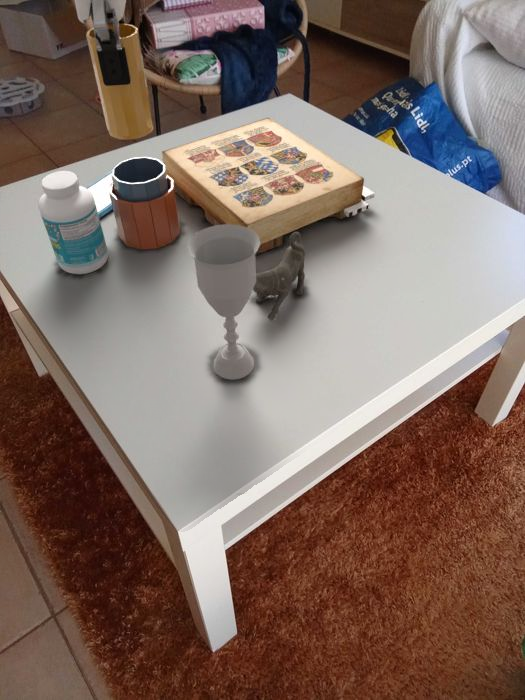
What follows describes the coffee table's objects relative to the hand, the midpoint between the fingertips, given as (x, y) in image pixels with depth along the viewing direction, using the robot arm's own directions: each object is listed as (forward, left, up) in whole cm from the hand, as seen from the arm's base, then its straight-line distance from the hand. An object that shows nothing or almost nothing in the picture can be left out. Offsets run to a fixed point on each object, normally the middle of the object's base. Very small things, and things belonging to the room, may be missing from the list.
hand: (119, 71), depth 70 cm
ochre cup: (0, 0, -7) cm, 7 cm away
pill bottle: (-10, -5, -25) cm, 27 cm away
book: (+20, +8, -25) cm, 33 cm away
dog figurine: (+18, -17, -25) cm, 35 cm away
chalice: (+11, -29, -25) cm, 39 cm away
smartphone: (-8, +12, -25) cm, 29 cm away
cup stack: (0, +1, -25) cm, 25 cm away
